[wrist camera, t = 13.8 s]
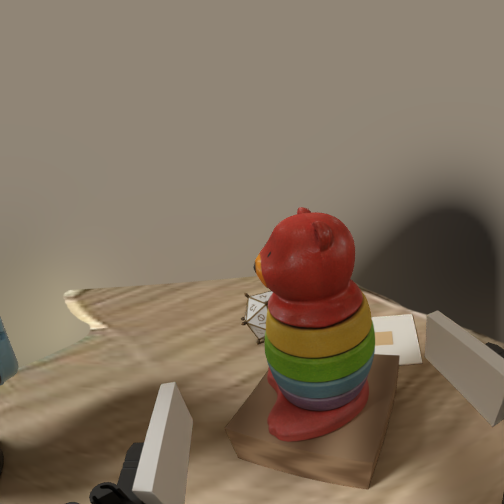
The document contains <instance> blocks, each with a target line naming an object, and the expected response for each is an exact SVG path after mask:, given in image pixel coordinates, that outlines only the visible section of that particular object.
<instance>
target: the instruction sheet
mask: <svg viewBox="0 0 504 504" xmlns="http://www.w3.org/2000/svg"><path fill="white" fill-rule="evenodd" d="M371 318H372V321H373V325H374V331H375V353H374V354H382V355H400V359H399V365H410V364H421V363H422V359H421V354H420V349H419V344H418V339H417V334H416V330H415V325H414V321H413V317H412V314H409V315H397V316H384V317H371Z"/></svg>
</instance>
